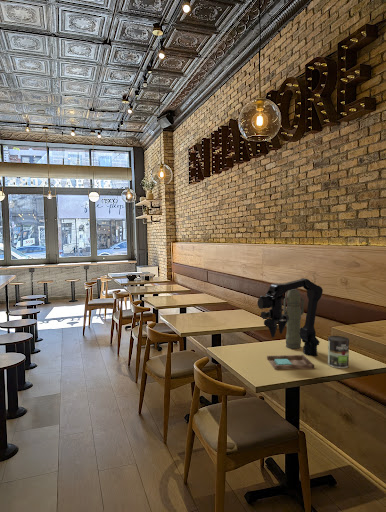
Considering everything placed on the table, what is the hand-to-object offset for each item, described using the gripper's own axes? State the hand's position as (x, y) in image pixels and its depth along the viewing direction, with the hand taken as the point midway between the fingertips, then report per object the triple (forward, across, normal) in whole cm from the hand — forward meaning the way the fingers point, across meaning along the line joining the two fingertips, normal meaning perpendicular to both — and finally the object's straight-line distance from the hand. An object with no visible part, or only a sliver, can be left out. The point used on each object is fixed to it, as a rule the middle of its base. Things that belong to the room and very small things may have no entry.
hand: (276, 335), depth 205 cm
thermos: (+14, -27, -2) cm, 30 cm away
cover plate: (+12, +7, +7) cm, 16 cm away
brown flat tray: (+13, +4, +9) cm, 17 cm away
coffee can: (+14, -11, +29) cm, 34 cm away
